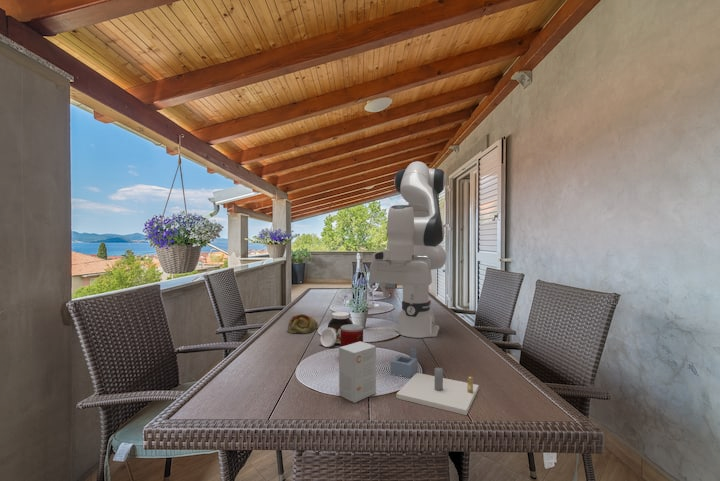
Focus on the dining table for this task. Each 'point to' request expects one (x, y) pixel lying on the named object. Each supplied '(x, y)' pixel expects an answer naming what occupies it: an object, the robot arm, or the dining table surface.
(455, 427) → the dining table surface
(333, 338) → the spread jar
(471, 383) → the dowel
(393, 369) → the grey socket with handle
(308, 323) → the pastry
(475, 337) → the dining table surface
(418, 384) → the post board
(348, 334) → the canned food
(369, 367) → the small box
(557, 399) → the dining table surface
